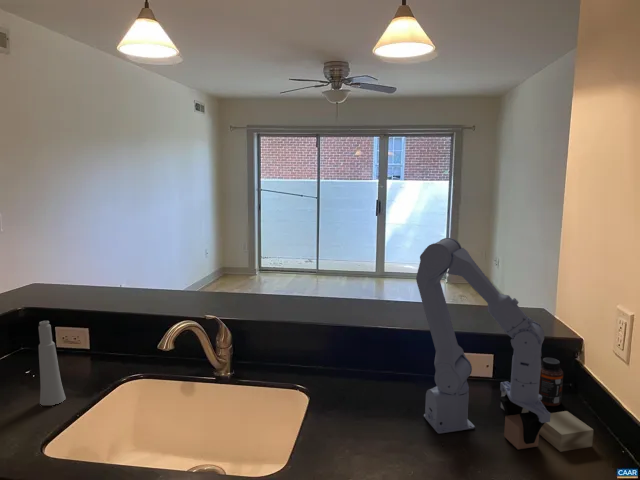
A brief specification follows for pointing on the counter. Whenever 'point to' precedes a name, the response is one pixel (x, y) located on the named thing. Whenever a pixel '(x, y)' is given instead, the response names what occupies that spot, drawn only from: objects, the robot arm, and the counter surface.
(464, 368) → the robot arm
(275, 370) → the counter surface
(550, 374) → the supplement bottle
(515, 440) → the terracotta cube
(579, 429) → the birch base block
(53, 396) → the cosmetic bottle
